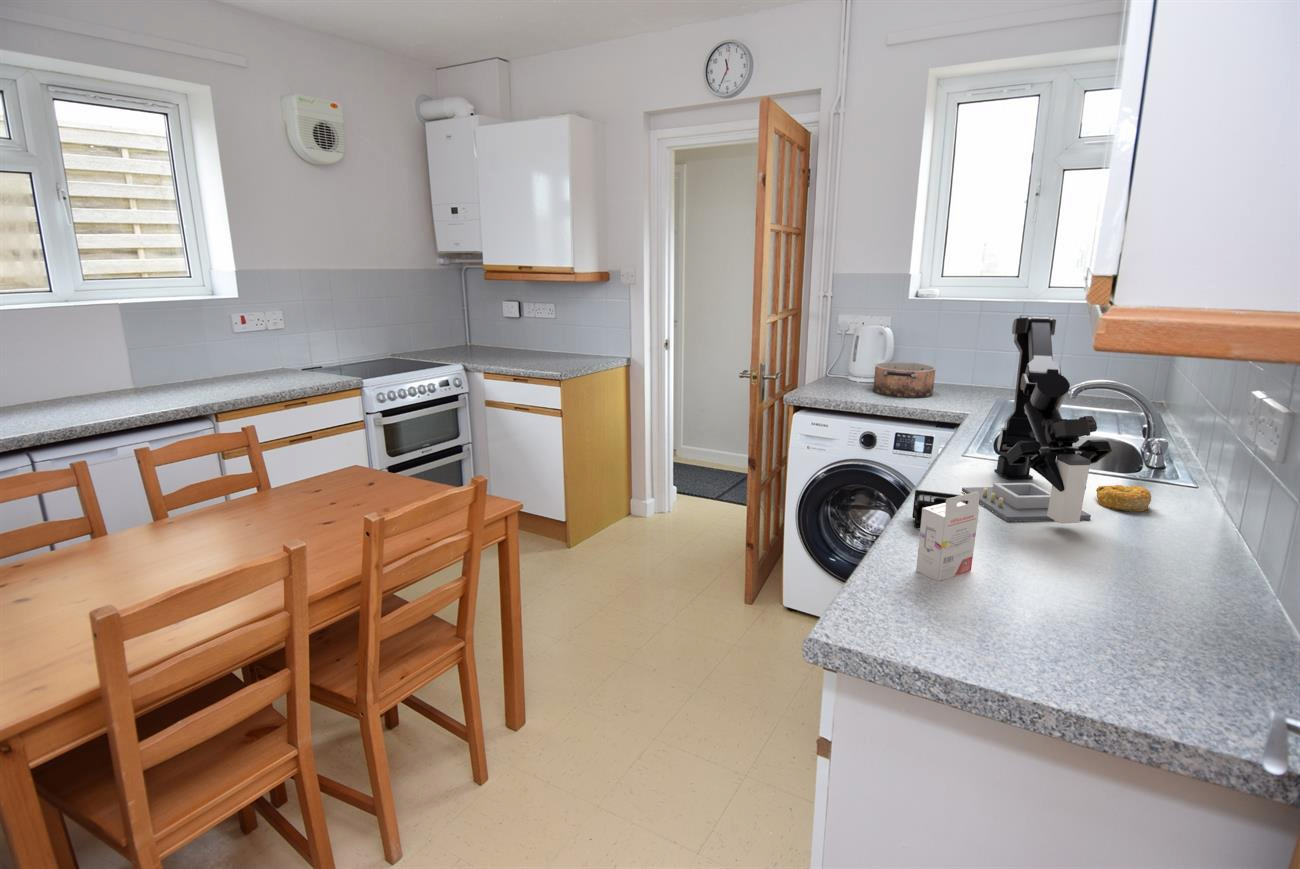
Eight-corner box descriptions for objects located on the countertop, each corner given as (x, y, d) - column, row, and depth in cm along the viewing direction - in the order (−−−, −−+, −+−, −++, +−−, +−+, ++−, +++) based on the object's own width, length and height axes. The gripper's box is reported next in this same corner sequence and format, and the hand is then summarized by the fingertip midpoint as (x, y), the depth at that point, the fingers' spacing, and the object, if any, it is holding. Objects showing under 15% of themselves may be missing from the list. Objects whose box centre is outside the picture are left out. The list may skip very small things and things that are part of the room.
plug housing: (1065, 515, 136) (1076, 454, 133) (1079, 522, 132) (1090, 460, 129) (1046, 515, 136) (1057, 454, 132) (1059, 523, 132) (1070, 460, 129)
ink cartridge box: (947, 560, 120) (957, 482, 116) (971, 571, 116) (983, 491, 112) (913, 570, 116) (923, 490, 112) (937, 582, 112) (948, 499, 108)
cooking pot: (926, 402, 250) (929, 374, 247) (865, 396, 260) (867, 369, 258) (937, 389, 275) (940, 363, 272) (881, 384, 286) (883, 359, 283)
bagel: (1126, 496, 153) (1130, 476, 152) (1161, 514, 142) (1165, 493, 141) (1082, 496, 153) (1085, 476, 152) (1114, 515, 143) (1118, 494, 141)
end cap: (964, 522, 137) (968, 491, 136) (965, 535, 131) (970, 503, 129) (912, 515, 141) (915, 485, 139) (911, 528, 135) (914, 496, 133)
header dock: (1036, 490, 156) (1038, 476, 155) (1090, 519, 139) (1093, 503, 138) (961, 491, 155) (963, 477, 154) (1006, 521, 138) (1008, 505, 137)
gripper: (1023, 401, 131) (1050, 473, 123) (1114, 400, 132) (1146, 471, 124) (995, 430, 141) (1018, 498, 133) (1080, 428, 142) (1108, 496, 134)
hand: (1073, 490), depth 131 cm, fingers closed on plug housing, 4 cm apart
